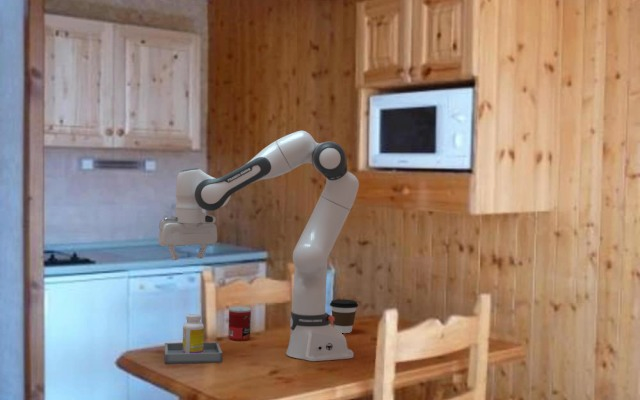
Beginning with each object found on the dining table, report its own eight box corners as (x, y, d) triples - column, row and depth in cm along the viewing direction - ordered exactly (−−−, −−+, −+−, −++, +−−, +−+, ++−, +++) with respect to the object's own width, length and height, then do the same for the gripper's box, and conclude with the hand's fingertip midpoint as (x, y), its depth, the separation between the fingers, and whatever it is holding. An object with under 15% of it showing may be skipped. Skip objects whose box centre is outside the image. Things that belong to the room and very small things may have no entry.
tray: (217, 351, 251) (218, 342, 251) (222, 362, 235) (222, 353, 235) (164, 352, 247) (164, 343, 247) (165, 364, 232) (165, 354, 232)
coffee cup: (362, 332, 288) (363, 301, 287) (345, 336, 280) (346, 305, 279) (341, 328, 295) (342, 298, 295) (323, 332, 287) (324, 301, 286)
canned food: (246, 341, 266) (247, 311, 266) (225, 340, 267) (226, 309, 267) (252, 337, 273) (253, 307, 273) (231, 335, 275) (232, 306, 275)
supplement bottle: (207, 354, 243) (208, 315, 242) (194, 358, 237) (196, 318, 236) (190, 351, 246) (191, 312, 245) (178, 355, 240) (179, 315, 239)
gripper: (164, 218, 238) (163, 261, 239) (219, 217, 251) (218, 258, 251) (155, 217, 243) (154, 259, 244) (210, 216, 256) (209, 256, 256)
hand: (187, 258), depth 248 cm, fingers open, 8 cm apart
